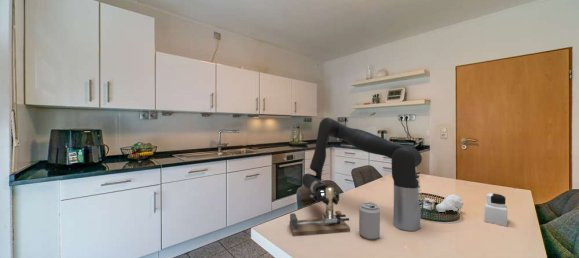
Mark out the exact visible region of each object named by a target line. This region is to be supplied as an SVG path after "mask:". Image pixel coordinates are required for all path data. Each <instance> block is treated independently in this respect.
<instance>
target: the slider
mask: <svg viewBox="0 0 579 258" xmlns="http://www.w3.org/2000/svg"><path fill="white" fill-rule="evenodd" d="M334 191H335V189H334V187H332V186H328V187H326V198H327V199H328V205H326V204H325V214H321V216H322V217H321V219H323V221H324V222H325V223H336V222H337V221H344V222H349V221H350V217H347V215H346V214H343V213H342V214H341V215H340V218H342V219H337V218H336V214H334V206H335V204H334V193H335V192H334Z"/></svg>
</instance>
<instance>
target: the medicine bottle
mask: <svg viewBox="0 0 579 258" xmlns="http://www.w3.org/2000/svg"><path fill="white" fill-rule="evenodd" d="M483 216H484V220H483V221H484V222H485V223H489V224H494V225H496V226H497V225H498V226H503V227H508V206H507V205H506V196H504V195H502V194H500V193H493V192H490V193H487V194H486V201H484V215H483Z"/></svg>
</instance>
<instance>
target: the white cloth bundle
mask: <svg viewBox="0 0 579 258" xmlns="http://www.w3.org/2000/svg"><path fill="white" fill-rule="evenodd" d="M463 206H464V202H463V199H462V198H461V197H460V196H458V194H452V193H451V194H449V195H447V196H446V197H444V199H443V200H442V201H441V203H438V204H436V206H435V209H436V211H437V212H438V213H439V212H446V211H449V210H453V212H455V211H457V210H458V209H459V214H460V213H461V210H462V209H463Z"/></svg>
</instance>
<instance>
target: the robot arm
mask: <svg viewBox="0 0 579 258" xmlns="http://www.w3.org/2000/svg"><path fill="white" fill-rule="evenodd" d="M318 125H319V126H318V129H317V135H316V136H317V137H316V142H315V143H316V144H315V147H314V152H313V156H312V159H311V161H310V165H309V169H310V170H312V171H313V172H314V173H315V174H311V173H305V174H303V176H302V178H301V184H302V185H303V186H304V187H305V188H306V189H308V190H310V191H311V192H310V195H309V197H310V199H312V200H313V201H316V202H317V203H320V202H321V203H323V204H325V206H326V205H328V199H327V198H326V187H329V186H328V184H326V183H325V182H323V181H322V173H323V169H324V166H325V163H326V159H327V140H328V138H329V137H332V138H336V139H340V140H342V141H344V142H347V144H350V146H351V147H354V148H356V149H357V150H360V151H363V152H366V153H369V154H374V155H378V156H384V157H387V158H389V159H390V160H391V177H392V180H393V221H392V222H393V224H392V225H393V226H394V227H396V229H400V230H403V231H406V232H413V231H414V232H415V231H418V229H421V216H422V215H421V214H422V213H421V212H422V210H421V209H422V208H421V204H420V203H419V188H420V187H419V180H418V178H417V176H416V167H418V166H419V165H420V164H421V163H422V162H423V161H422V160H423V156H422V154H421V153H420V151H419V150H418V149H417V148H415V147H412V146H408V145H404V144H400V143H396V142H393V141H390V140H388V139H386V138H383V137H382V136H378V135H376V134H374V133H371V132H369V131H366V130H363V129H358V128H352V127H348V126H347V125H344V124H342V123H341V122H339V121H337V120H335V119H333V118H331V117H324V118H323V119H321V120H320V122H319V124H318ZM339 201H340V191H339V190H336V191H335V192H334V205H338V203H339Z"/></svg>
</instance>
